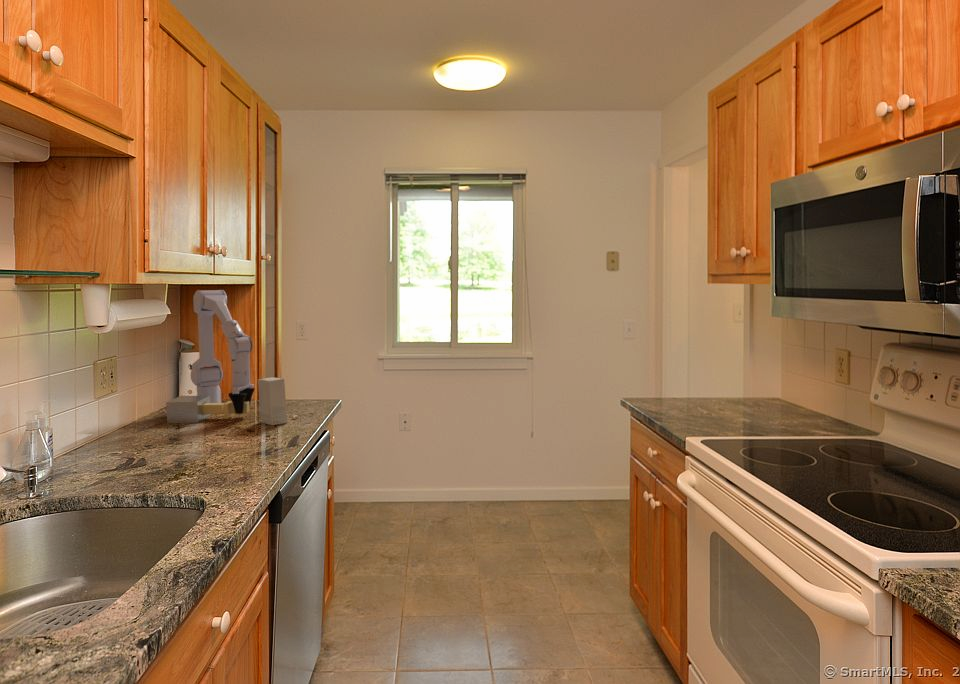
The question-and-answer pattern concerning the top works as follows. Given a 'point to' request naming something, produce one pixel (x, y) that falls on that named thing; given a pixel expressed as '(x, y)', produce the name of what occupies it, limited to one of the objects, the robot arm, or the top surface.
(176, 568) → the top surface
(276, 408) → the skincare box
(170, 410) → the block
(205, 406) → the end cover
